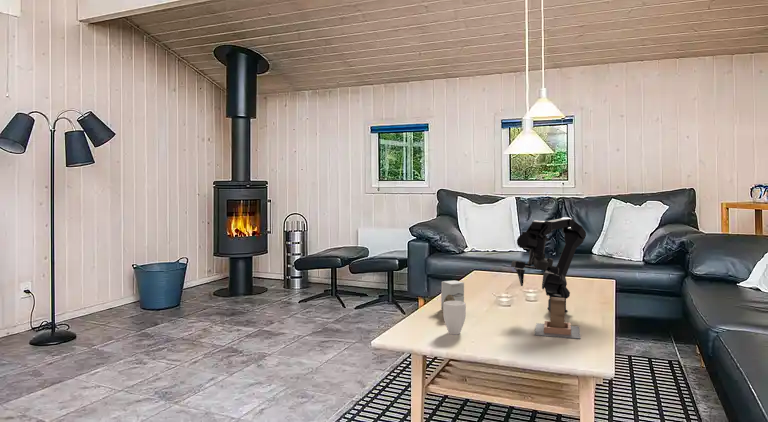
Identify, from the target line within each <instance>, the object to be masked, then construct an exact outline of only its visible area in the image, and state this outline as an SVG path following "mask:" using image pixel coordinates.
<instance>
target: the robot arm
mask: <svg viewBox="0 0 768 422" xmlns="http://www.w3.org/2000/svg"><path fill="white" fill-rule="evenodd" d="M554 230H561V231H562V233H563V235H564V237H563V239H564V243H565V244H564V246H563V248H562V252H561V255H560V257H559V259H558V262H557V265H556V266H554V259H553V258H549V257H547V258H546V254H545V248H546V242H549V241H550V240H549V238H548V237H547V235H549V234H551V233H552V232H553V231H554ZM586 236H587V232H586V230H585V228H583V226H582V225H580V224H579V223H577V222H576V220H575V219H574V218H572V217H561V218H557V219H551V220H547V221H546V220H533V221H531V223H530V225H529V226H528V228H527V230H526V231H522V232H521V234H520V235H519V236H518V237H517V239H516V245H517V247H518V248H520V249H524V250H525V249H527V250H529V252H528V255H529V256H528V257H529V258H528V261H527V263H526V262H525V261H519V260H512V262H511V265H510V266H511V268H513V270H515V271H516V273H517V276H518V280H519V284H520V287H523V286H524V278H525V271H526V269H530V270H531V269H532V270H538V271H543V274H542V275H543V276H542V281H541V282H542V283H541V288H542V290H545V294H546V296H548V297H549V299H548V300H547V301H548V304H547V305H548V307H547V310H550V311H551V297H558V298H565V313H566V312H568V309H567V299H568V298H570V295H571V292H570V290H569V289H568V288H567V285H568V282H567V278H566V276H567V274H568V272H569V269H570V266H571V263H572V261H573V258H574V255H575V253H576V250H577V248H578V247H579V246H581V245H582V244H583V243H584V241H585V239H586Z"/></svg>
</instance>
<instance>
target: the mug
mask: <svg viewBox="0 0 768 422" xmlns="http://www.w3.org/2000/svg"><path fill="white" fill-rule="evenodd" d="M466 307H467V305H466V302H465V301H464V302H462V301H446V302H444V303H443V311H442V315H443V320H444V325H445V327H446V329H447V332H448V334H450V335H460V334H461V332H462V329H463V326H464V324H465V321H466V316H467V312H466Z"/></svg>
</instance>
